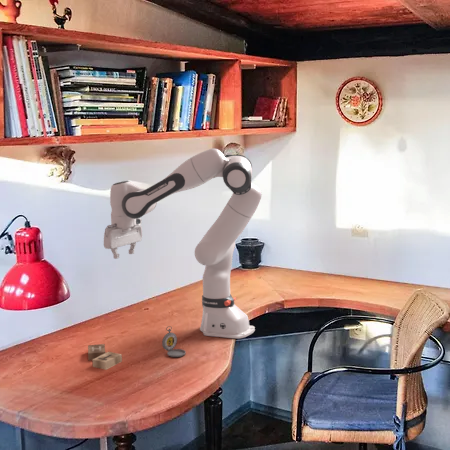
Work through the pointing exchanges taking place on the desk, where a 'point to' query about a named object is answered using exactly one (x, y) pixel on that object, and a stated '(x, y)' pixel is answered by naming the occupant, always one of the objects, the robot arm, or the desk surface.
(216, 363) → the desk surface
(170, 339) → the pocket watch
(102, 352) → the wooden letter h block
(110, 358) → the wooden letter t block
